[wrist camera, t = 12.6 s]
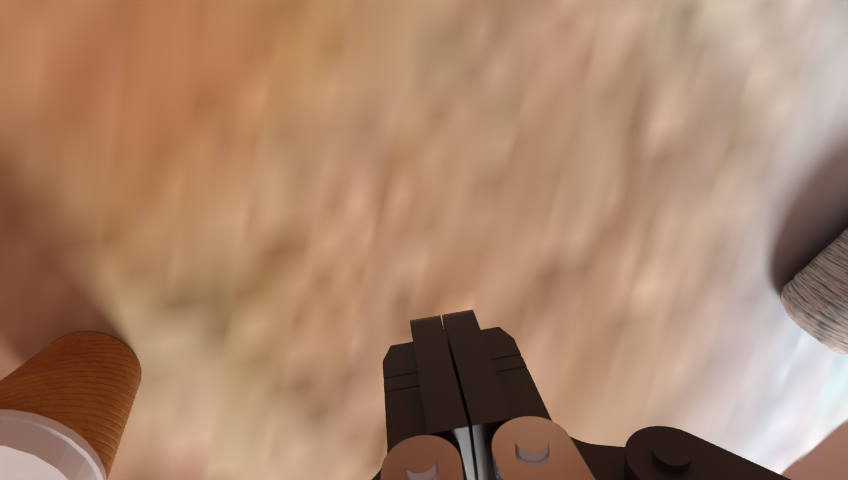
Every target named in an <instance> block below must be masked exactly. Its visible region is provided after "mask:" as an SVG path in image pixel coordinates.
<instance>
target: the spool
mask: <svg viewBox="0 0 848 480" xmlns="http://www.w3.org/2000/svg"><path fill="white" fill-rule="evenodd" d="M781 302H782V304H783V306H784V308H785V310H786V312H787V314H788V316H789V317H790V318H791V319H792V320H793V321H794V322H795V323H796V324H797V325H799V326H800V327H801V328H802V329H804V330H805V331H806V332H807V333H809V334H810V335H811V336H813V337H814V338H816V339H817V340H818V341H820V342H821V343H822V344H824V345H825V346H827V347H829V348H830V349H832V350H833V351H835V352H838V353H841V354H846V355H848V228H846V229H845V230H844V231H843V232H842V233H841V234H840V235H839V236H838V237H837V238H836V239H835V240H834V241H833V242H832V243H830V244H829V245H828V246H827V247H826V248H825V249H824V250H823V251H822V252H821V253H819V254H818V255H817V256H816V257H815V258H814V259H812V260H811V261H810V262H809V264H808V265H807V266H806V267H805V268H803V269H802V270H800V271H799V272H798V273H797V274H796V275H795V276H794V278H793V279H792V280H791V281H790V282H789V283H787V284H786V285H785V286H784V288H783V290H782V292H781Z"/></svg>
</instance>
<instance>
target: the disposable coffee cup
mask: <svg viewBox="0 0 848 480" xmlns="http://www.w3.org/2000/svg"><path fill="white" fill-rule="evenodd" d="M140 381H141V368H140V364H139V361H138V359H137V357H136V356H135V354H134V353H133V352H132V351H131V349H129V348H128V347H127V346H126V345H125V344H123V343H122V342H120V341H119V340H117V339H115V338H113V337H111V336H108V335H105V334H100V333H95V332H79V333H72V334H68V335H65V336H63V337H61V338H59V339H57V340H55V341H54V342H53V343H51V344H50V345H49V346H48V347H46V348H45V349H43V350H42V351H41V352H39V353H38V354H37V355H35V356H34V357H33V358H31V359H30V360H29V361H27V362H26V363H24V364H23V365H22V366H20V367H19V368H17V369H16V370H15V371H13V372H12V373H11V374H9V375H8V376H6V377H5V378H4V379H2V380H1V381H0V480H107V479H108V476H109V473H110V470H111V467H112V463H113V461H114V458H115V454H116V453H117V449H118V446H119V444H120V440H121V437H122V434H123V432H124V428H125V425H126V423H127V419H128V417H129V413H130V411H131V407H132V405H133V401H134V399H135V395H136V393H137V389H138V387H139V384H140Z"/></svg>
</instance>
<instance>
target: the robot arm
mask: <svg viewBox="0 0 848 480" xmlns="http://www.w3.org/2000/svg"><path fill="white" fill-rule="evenodd" d="M442 319H443V325H442V321H441V317H440V315H439V316H433V317H428V318H422V319H416V320H410V325H411V331H412V338H413V342H410V343H404V344H398V345H392V346H391V347H390V348H389V350H388V352H387V354H386V356H385V358H384V360H383V375H384V392H385V410H386V428H387V445H388V448H387V456H386V457H385V459H384V461H383V464H382V468H381V469H380V471H379V472H378V473H377V475H376V476H375V477H374V478H373V479H372V480H791V479H788V478H786V477H784V476H782V475H780V474H777V473H775V472H773V471H771V470H769V469H766V468H764V467H762V466H760V465H758V464H755V463H753V462H751V461H749V460H747V459H745V458H742V457H740V456H738V455H736V454H734V453H731V452H729V451H727V450H725V449H723V448H720V447H718V446H716V445H714V444H712V443H709V442H707V441H705V440H703V439H701V438H699V437H696V436H694V435H692V434H690V433H687V432H685V431H682V430H680V429H676V428H672V427H666V426H653V427H647V428H643V429H641V430H638V431H637V432H635V433H634V434H633V435H632V436H631V437H630V438H629V439H628V441H627V443H626V446H625V447H616V446H605V445H595V444H589V443H585V442H582V441H579V440H576V439H574V438H572V437H570V436H569V435H568V433H567V432H566V431H565V430H564V429H563V428H562V427H561V426H559V425H558V424H556V423H555V422H553V421H552V419H551V418H550V416H549V414H548V411H547V409H546V407H545V405H544V403H543V401H542V399H541V396H540V394H539V392H538V390H537V388H536V386H535V383H534V381H533V379H532V377H531V375H530V373H529V370H528V369H527V366H526V364H525V362H524V360H523V358H522V357H521V353H520V351H519V349H518V347H517V345H516V342H515V340H514V338H512V337H511V336H510V335H509V334H507V333H506V332H505V331H503V330H502V329H501V328H500V327H495V328H489V329H484V330H480V327H479V325H478V322H477V319H476V317H475V314H474V311H473V310H468V311H462V312H456V313H450V314H444V315H442ZM443 327H444V329H443Z"/></svg>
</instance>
